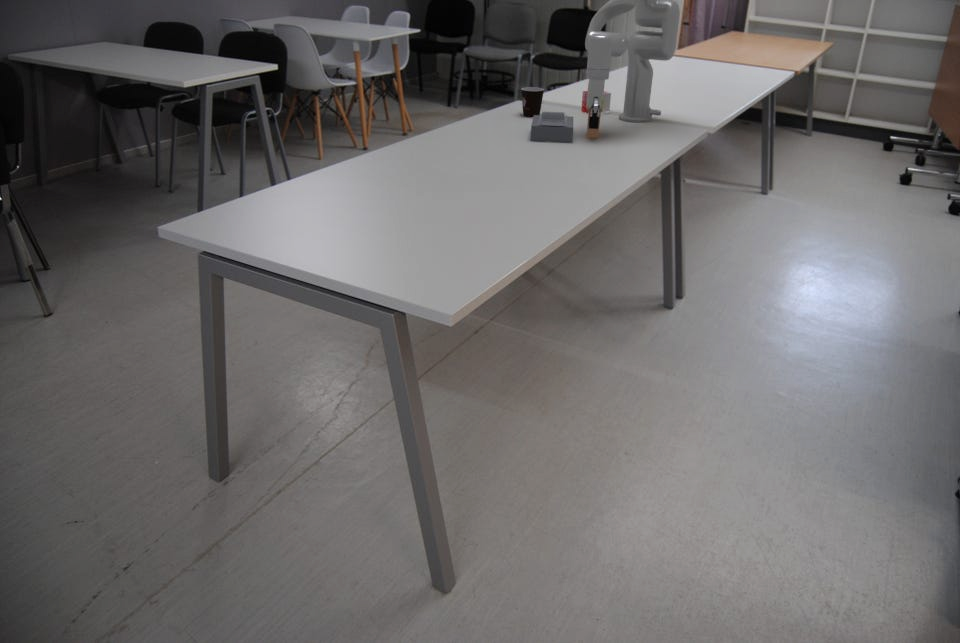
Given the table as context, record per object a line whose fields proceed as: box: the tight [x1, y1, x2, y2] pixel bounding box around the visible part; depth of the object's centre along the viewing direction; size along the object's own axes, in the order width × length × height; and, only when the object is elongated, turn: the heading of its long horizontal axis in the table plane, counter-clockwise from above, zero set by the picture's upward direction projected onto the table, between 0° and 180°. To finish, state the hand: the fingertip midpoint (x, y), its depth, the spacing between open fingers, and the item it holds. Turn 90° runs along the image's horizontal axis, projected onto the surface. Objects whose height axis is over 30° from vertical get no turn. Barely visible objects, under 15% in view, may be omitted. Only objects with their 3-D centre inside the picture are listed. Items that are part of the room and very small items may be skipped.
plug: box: [586, 106, 602, 139], centre depth 255 cm, size 5×5×10 cm
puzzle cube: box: [581, 90, 612, 115], centre depth 293 cm, size 8×8×8 cm
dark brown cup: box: [520, 86, 545, 118], centre depth 286 cm, size 12×9×10 cm
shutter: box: [541, 111, 566, 126], centre depth 250 cm, size 8×8×3 cm
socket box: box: [530, 113, 574, 143], centre depth 256 cm, size 14×18×6 cm
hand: (592, 125), depth 255 cm, fingers open, 9 cm apart
